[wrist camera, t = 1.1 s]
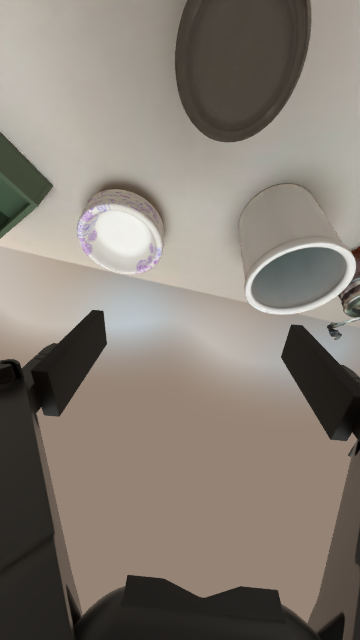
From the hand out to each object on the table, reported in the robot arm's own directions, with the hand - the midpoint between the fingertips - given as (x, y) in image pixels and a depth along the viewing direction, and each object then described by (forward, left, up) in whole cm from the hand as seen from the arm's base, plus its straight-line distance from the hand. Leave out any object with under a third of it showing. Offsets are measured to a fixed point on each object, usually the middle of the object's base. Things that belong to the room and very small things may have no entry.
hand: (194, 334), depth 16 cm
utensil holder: (+17, +8, -33) cm, 38 cm away
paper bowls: (+3, -17, -33) cm, 37 cm away
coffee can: (-8, +8, -33) cm, 35 cm away
